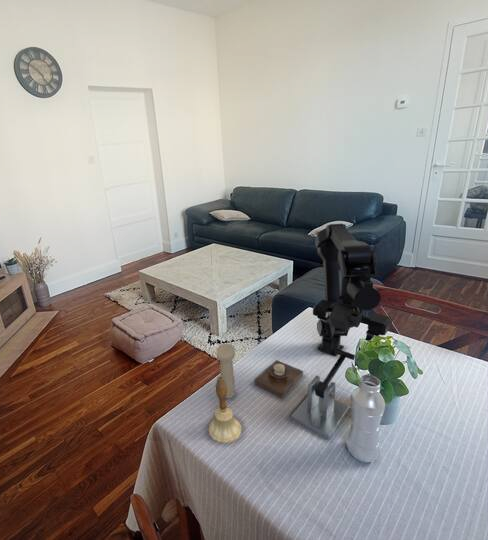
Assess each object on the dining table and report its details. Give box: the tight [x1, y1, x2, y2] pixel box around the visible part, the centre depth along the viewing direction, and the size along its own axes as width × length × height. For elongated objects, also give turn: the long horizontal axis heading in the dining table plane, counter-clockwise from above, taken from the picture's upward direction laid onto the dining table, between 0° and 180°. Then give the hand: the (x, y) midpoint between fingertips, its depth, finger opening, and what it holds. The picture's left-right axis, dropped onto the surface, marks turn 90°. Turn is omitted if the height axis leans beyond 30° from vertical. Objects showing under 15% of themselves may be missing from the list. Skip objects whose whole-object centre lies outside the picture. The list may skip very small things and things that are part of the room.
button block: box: [254, 359, 304, 399], centre depth 99 cm, size 12×9×4 cm
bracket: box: [290, 375, 350, 440], centre depth 84 cm, size 12×10×10 cm
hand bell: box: [208, 376, 243, 444], centre depth 82 cm, size 8×8×16 cm
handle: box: [216, 343, 236, 399], centre depth 93 cm, size 5×6×15 cm
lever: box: [315, 349, 356, 399], centre depth 87 cm, size 16×5×2 cm, turn 136°
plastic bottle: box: [346, 374, 386, 463], centre depth 71 cm, size 6×7×20 cm
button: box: [274, 364, 285, 375], centre depth 98 cm, size 3×3×2 cm
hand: (347, 343), depth 93 cm, fingers open, 9 cm apart
